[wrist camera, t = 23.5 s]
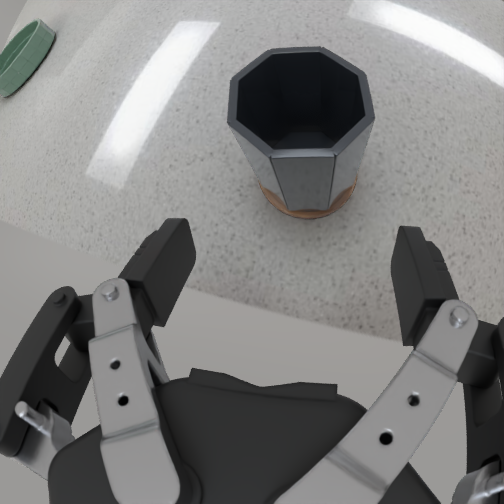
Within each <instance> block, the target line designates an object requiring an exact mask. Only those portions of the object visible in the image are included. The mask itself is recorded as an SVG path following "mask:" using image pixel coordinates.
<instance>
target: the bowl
mask: <svg viewBox="0 0 504 504" xmlns="http://www.w3.org/2000/svg"><path fill="white" fill-rule="evenodd" d="M54 36H55V32H54V31H53V30H52V29H51V28H49V27H48V26H47V25H46V24H45V23H44V22H43V21H42V20H40V19H39V18H38V19H35V20H33V21H32V22H30V23H29V24H27V25H26V26H25V27H24V28H23V29H21V30H20V31H19V32H18V33H17V34H16V35H15V36H14V37H13V38H12V40H11V41H10V42H9V43H8V44H7V46H6V47H5V48H4V49H3V51H2V52H1V54H0V95H1V96H3V97H6V96H8V95H10V94H12V93H13V92H14V91H15V90H17V89H18V88H19V87H20V86H21V85H22V84H23V83H24V82H25V81H26V80H27V79H28V78H29V77H30V76H31V75H32V74H33V72H34V71H35V70H36V69H37V67H38V66H39V65H40V63H41V62H42V60H43V59H44V57H45V56H46V54H47V52H48V51H49V49H50V46H51V44H52V42H53V39H54Z"/></svg>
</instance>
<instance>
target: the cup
mask: <svg viewBox="0 0 504 504" xmlns="http://www.w3.org/2000/svg"><path fill="white" fill-rule="evenodd" d="M231 79H232V80H230V89H229V102H228V116H227V123H228V125H229V127H230V129H231V131H232V132H233V134H234V136H235V138H236V140H237V141H238V143H239V145H240V147H241V149H242V150H243V152H244V154H245V156H246V158H247V159H248V161H249V163H250V165H251V167H252V169H253V170H254V172H255V174H256V176H257V178H258V180H259V182H260V183H261V185H262V187H264V188H265V189H266V190H267V191H268V192H269V193H270V194H271V196H272V197H273V198H274V199H275V200H276V201H278V202H279V203H280V204H282V205H283V206H284V207H285V208H286V209H287V210H289V211H299V212H316V211H321V210H327V209H328V210H329V209H330V208H331V207H332V206H333V205H334V204H335V203H337V202H338V201H339V200H340V199H341V198H342V197H343V196H344V194H345V193H346V191H347V190H348V189H349V188H350V187H351V186H352V185H353V184H354V181H355V178H356V175H357V172H358V169H359V166H360V163H361V160H362V157H363V154H364V151H365V148H366V145H367V142H368V139H369V136H370V132H371V129H372V126H373V123H374V120H375V114H374V109H373V104H372V99H371V94H370V89H369V85H368V80H367V76H366V74H365V73H364V72H363V71H362V70H360V69H359V68H357V67H356V66H354V65H352V64H351V63H349V62H348V61H346V60H344V59H343V58H341V57H339V56H338V55H336V54H334V53H333V52H331V51H329V50H328V49H326V48H324V47H322V48H321V47H320V46H317V47H290V48H275V49H270V50H267V51H266V52H264V53H263V54H262V55H260V56H259V57H258V58H256V59H255V60H254V61H252V62H251V63H250V64H248V65H247V66H246V67H245V68H243V69H242V70H241V71H240V72H238V73H237V74H236V75H235V76H233V77H232V78H231Z"/></svg>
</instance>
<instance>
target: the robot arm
mask: <svg viewBox="0 0 504 504" xmlns="http://www.w3.org/2000/svg"><path fill="white" fill-rule="evenodd" d="M195 260H196V250H195V246H194V242H193V238H192V234H191V230H190V226H189V222H188V220H187V219H185V218H168V219H166V220H165V222H164V223H163V224H162V226H161V227H160V228H159V230H156V231H154V232H153V233H152V234H150V235H149V236H148V237H146V238H145V240H144V241H143V243H142V244H141V245H140V248H138V249H137V251H136V252H135V255H133V256H132V258H131V259H130V261H129V262H128V263H127V265H126V266H125V268H124V269H123V271H122V272H121V273H120V275H119V276H118V278H113V279H109V280H107V281H105V282H103V283H102V284H100V285H99V286H98V287H97V288H96V290H95V291H94V293H93V294H90V295H84V296H78V295H77V294H76V292H75V290H74V289H73V288H72V287H69V286H66V287H61V288H59V289H57V290H55V291H54V292H53V293H52V294H51V295H50V296H49V297H48V299H47V300H46V302H45V303H44V305H43V306H42V308H41V310H40V311H39V312H38V314H37V315H36V317H35V319H34V320H33V322H32V323H31V325H30V327H29V328H28V330H27V331H26V333H25V335H24V336H23V338H22V340H21V342H20V343H19V345H18V347H17V348H16V350H15V352H14V354H13V355H12V357H11V359H10V361H9V363H8V365H7V366H6V369H5V370H4V372H3V374H2V376H1V378H0V453H1V454H3V455H4V456H6V457H8V458H10V459H12V460H14V461H16V462H17V463H19V464H21V465H24V466H26V467H27V468H29V469H30V470H32V471H33V472H35V473H36V474H38V475H39V476H41V477H42V478H44V479H45V480H47V481H48V489H49V501H50V504H441V503H440V501H439V500H438V499H437V498H436V496H435V495H434V494H433V493H432V491H431V490H430V489H429V488H428V486H427V485H426V484H425V482H424V481H423V480H422V478H421V477H420V476H419V475H418V473H417V472H416V471H415V469H414V468H413V467H412V466H411V464H410V463H409V462H408V461H409V460H410V458H411V457H412V456H413V454H414V453H415V451H416V450H417V448H418V447H419V445H420V444H421V443H422V441H423V440H424V438H425V437H426V435H427V433H428V432H429V430H430V428H431V427H432V425H433V424H434V422H435V421H436V419H437V417H438V416H439V414H440V412H441V411H442V409H443V407H444V405H445V404H446V402H447V400H448V398H449V396H450V394H451V392H452V390H453V389H454V387H455V385H456V383H457V382H461V383H463V389H464V400H465V412H466V430H467V472H466V476H464V477H463V478H462V479H461V480H460V482H459V483H458V485H457V487H456V489H455V492H454V494H453V497H452V503H451V504H504V317H503V318H502V319H501V320H500V322H499V323H498V325H494V324H490V323H487V322H484V321H480V320H478V317H477V315H476V313H475V311H474V310H473V309H472V307H471V306H469V305H468V304H467V303H465V302H463V301H460V300H459V298H458V295H457V292H456V289H455V287H454V284H453V281H452V279H451V276H450V273H449V271H448V268H447V266H446V263H444V259H443V256H442V254H441V251H440V250H439V249H438V248H437V247H436V246H435V245H434V244H433V243H432V241H426V240H425V238H424V236H423V233H422V231H421V229H420V227H412V226H400V227H399V230H398V234H397V238H396V243H395V247H394V251H393V255H392V260H391V277H392V282H393V287H394V292H395V297H396V303H397V308H398V314H399V320H400V327H401V334H402V341H403V346H413V348H414V349H413V351H412V352H411V354H410V355H409V357H408V358H407V359H406V361H405V362H404V364H403V365H402V367H401V368H400V369H399V371H398V372H397V374H396V375H395V376H394V378H393V379H392V380H391V382H390V383H389V384H388V386H387V387H386V388H385V390H384V391H383V392H382V394H381V395H380V396H379V397H378V399H377V400H376V401H375V402H374V404H373V405H372V406H371V407H370V408H369V410H367V409H366V408H364V407H363V406H362V405H360V404H359V403H357V402H355V401H354V400H352V399H350V398H347V397H345V396H342V395H339V394H337V384H322V383H305V382H298V383H291V384H283V385H276V386H267V387H259V386H256V385H253V384H250V383H248V382H245V381H243V380H240V379H238V378H235V377H233V376H230V375H227V374H225V373H219V372H213V371H207V370H201V369H195V368H192V369H191V372H190V375H189V377H187V378H180V379H175V380H171V381H170V380H169V378H168V376H167V373H166V371H165V368H164V365H163V362H162V359H161V356H160V353H159V350H158V347H157V343H156V340H155V337H154V334H153V332H152V330H151V328H152V326H153V325H155V326H160V327H164V326H165V324H166V322H167V320H168V318H169V315H170V314H171V312H172V310H173V307H174V305H175V303H176V301H177V299H178V297H179V295H180V292H181V291H182V289H183V287H184V285H185V283H186V281H187V279H188V277H189V275H190V273H191V271H192V269H193V267H194V264H195ZM64 336H66V338H67V339H68V340H69V341H70V345H69V347H68V349H67V351H66V353H65V355H64V357H63V359H62V361H61V362H60V364H59V366H58V367H57V365H56V363H55V353H56V351H57V349H58V347H59V345H60V344H61V342H62V340H63V338H64ZM91 376H92V379H93V386H94V392H95V397H96V404H97V409H98V414H99V419H100V424H99V425H98V426H97V427H95V428H93V429H92V430H90V431H88V432H87V433H85V434H84V435H82V436H80V437H79V438H77V439H76V440H75V438H74V436H73V435H72V430H71V424H72V422H73V419H74V416H75V414H76V412H77V409H78V407H79V404H80V402H81V399H82V397H83V395H84V393H85V390H86V388H87V385H88V383H89V381H90V379H91ZM499 379H500V383H499ZM500 385H501V388H500ZM501 391H502V395H501Z"/></svg>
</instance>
